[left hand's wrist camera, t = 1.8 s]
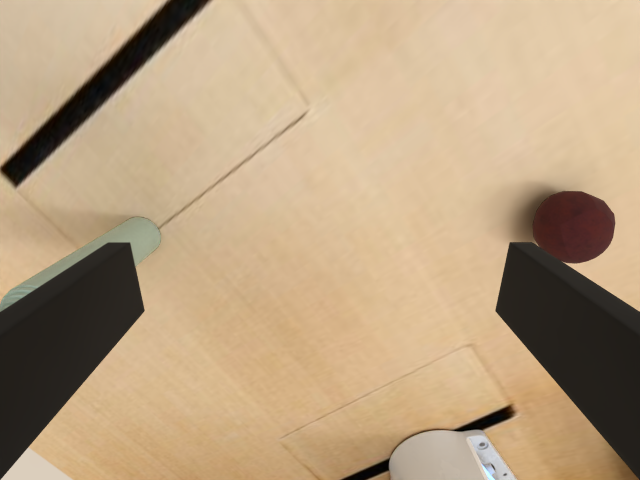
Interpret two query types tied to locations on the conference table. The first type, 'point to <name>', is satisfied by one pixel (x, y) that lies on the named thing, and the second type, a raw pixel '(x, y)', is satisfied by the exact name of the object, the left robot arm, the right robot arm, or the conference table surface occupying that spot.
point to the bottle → (133, 230)
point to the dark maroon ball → (573, 226)
